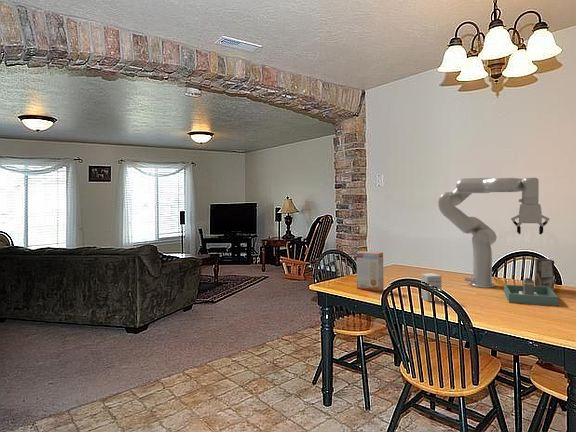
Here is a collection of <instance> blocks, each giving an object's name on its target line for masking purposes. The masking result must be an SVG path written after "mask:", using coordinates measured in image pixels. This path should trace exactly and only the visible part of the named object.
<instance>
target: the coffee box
mask: <svg viewBox="0 0 576 432" xmlns="http://www.w3.org/2000/svg"><path fill="white" fill-rule="evenodd" d="M534 286H539V287H549V288H550V289H551V290H552V291H553V292H554V291H555V260H552V259H550V258H534Z"/></svg>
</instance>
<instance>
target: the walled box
mask: <svg viewBox="0 0 576 432" xmlns="http://www.w3.org/2000/svg"><path fill="white" fill-rule="evenodd" d="M503 293H504V295H505V297H506V299H507V302H508V303H512V304H513V303H514V304H528V305H540V306H554V307H558V306H559V296H558V295H557V294H556V293H555V292H554V291H552V290H551V289H550V288H549V287H539V286H535V285H534V295H526V294H523V285H520V284H518V285H517V284H503Z"/></svg>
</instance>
